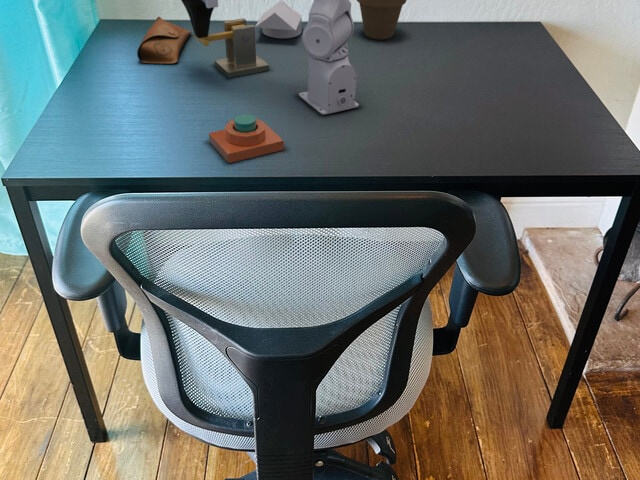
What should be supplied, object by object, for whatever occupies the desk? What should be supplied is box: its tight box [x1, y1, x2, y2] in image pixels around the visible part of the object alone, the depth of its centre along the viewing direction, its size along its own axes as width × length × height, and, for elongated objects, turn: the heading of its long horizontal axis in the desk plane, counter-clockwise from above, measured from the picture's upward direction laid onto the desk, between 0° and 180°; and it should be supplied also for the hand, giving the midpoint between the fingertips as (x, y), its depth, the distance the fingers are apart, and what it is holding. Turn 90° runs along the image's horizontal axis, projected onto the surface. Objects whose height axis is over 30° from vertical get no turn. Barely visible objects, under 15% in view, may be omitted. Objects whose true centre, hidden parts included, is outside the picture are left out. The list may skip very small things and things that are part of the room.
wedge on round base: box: [254, 0, 303, 39], centre depth 148 cm, size 9×7×13 cm
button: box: [233, 113, 257, 133], centre depth 108 cm, size 4×4×2 cm
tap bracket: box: [213, 17, 270, 79], centre depth 132 cm, size 9×7×9 cm
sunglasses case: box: [136, 16, 192, 65], centre depth 141 cm, size 18×7×7 cm, turn 0°
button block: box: [208, 118, 285, 164], centre depth 110 cm, size 8×10×4 cm
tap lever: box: [194, 24, 245, 47], centre depth 129 cm, size 10×5×2 cm, turn 120°
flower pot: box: [356, 0, 407, 41], centre depth 148 cm, size 12×11×10 cm
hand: (201, 36), depth 127 cm, fingers closed, pressing on tap lever
